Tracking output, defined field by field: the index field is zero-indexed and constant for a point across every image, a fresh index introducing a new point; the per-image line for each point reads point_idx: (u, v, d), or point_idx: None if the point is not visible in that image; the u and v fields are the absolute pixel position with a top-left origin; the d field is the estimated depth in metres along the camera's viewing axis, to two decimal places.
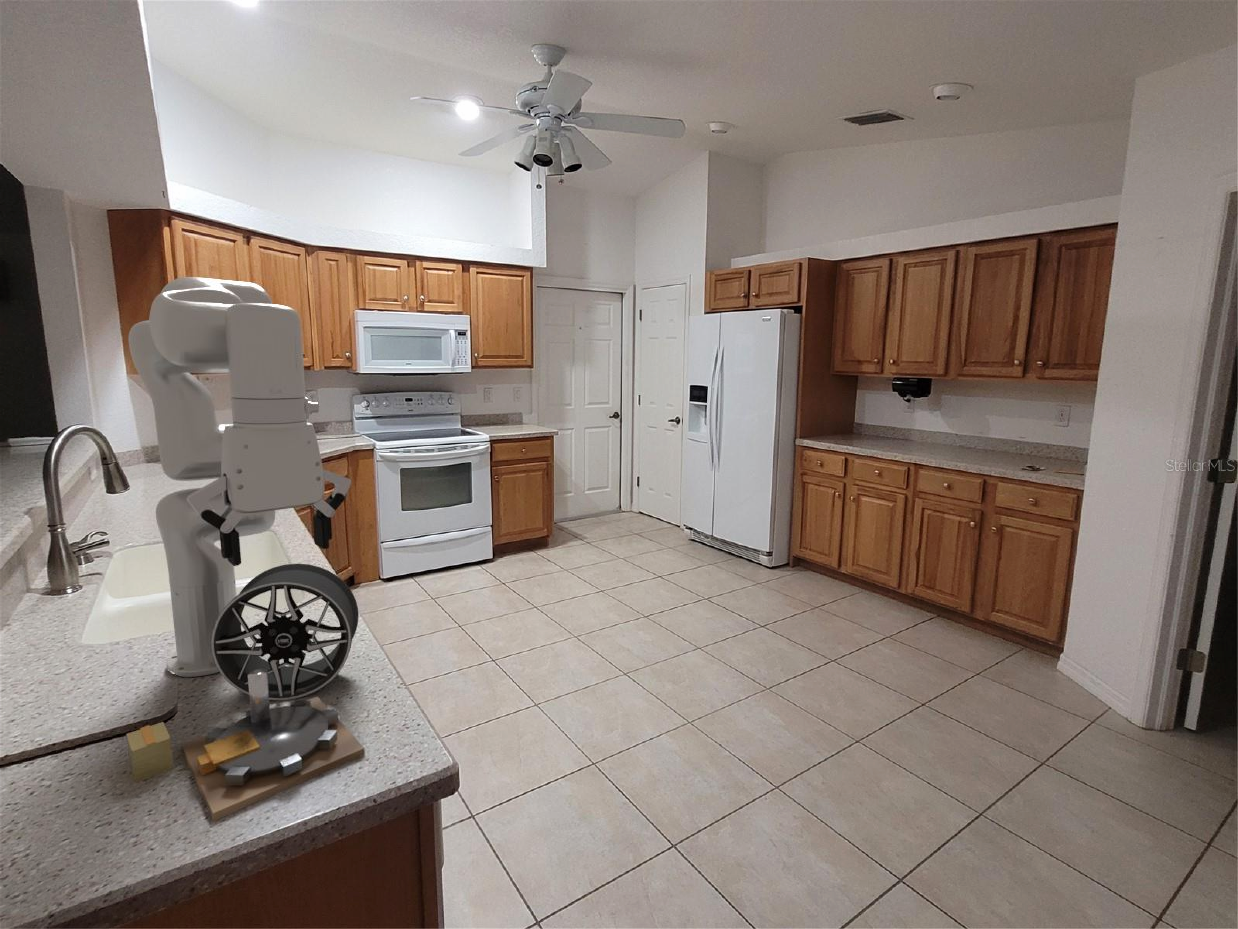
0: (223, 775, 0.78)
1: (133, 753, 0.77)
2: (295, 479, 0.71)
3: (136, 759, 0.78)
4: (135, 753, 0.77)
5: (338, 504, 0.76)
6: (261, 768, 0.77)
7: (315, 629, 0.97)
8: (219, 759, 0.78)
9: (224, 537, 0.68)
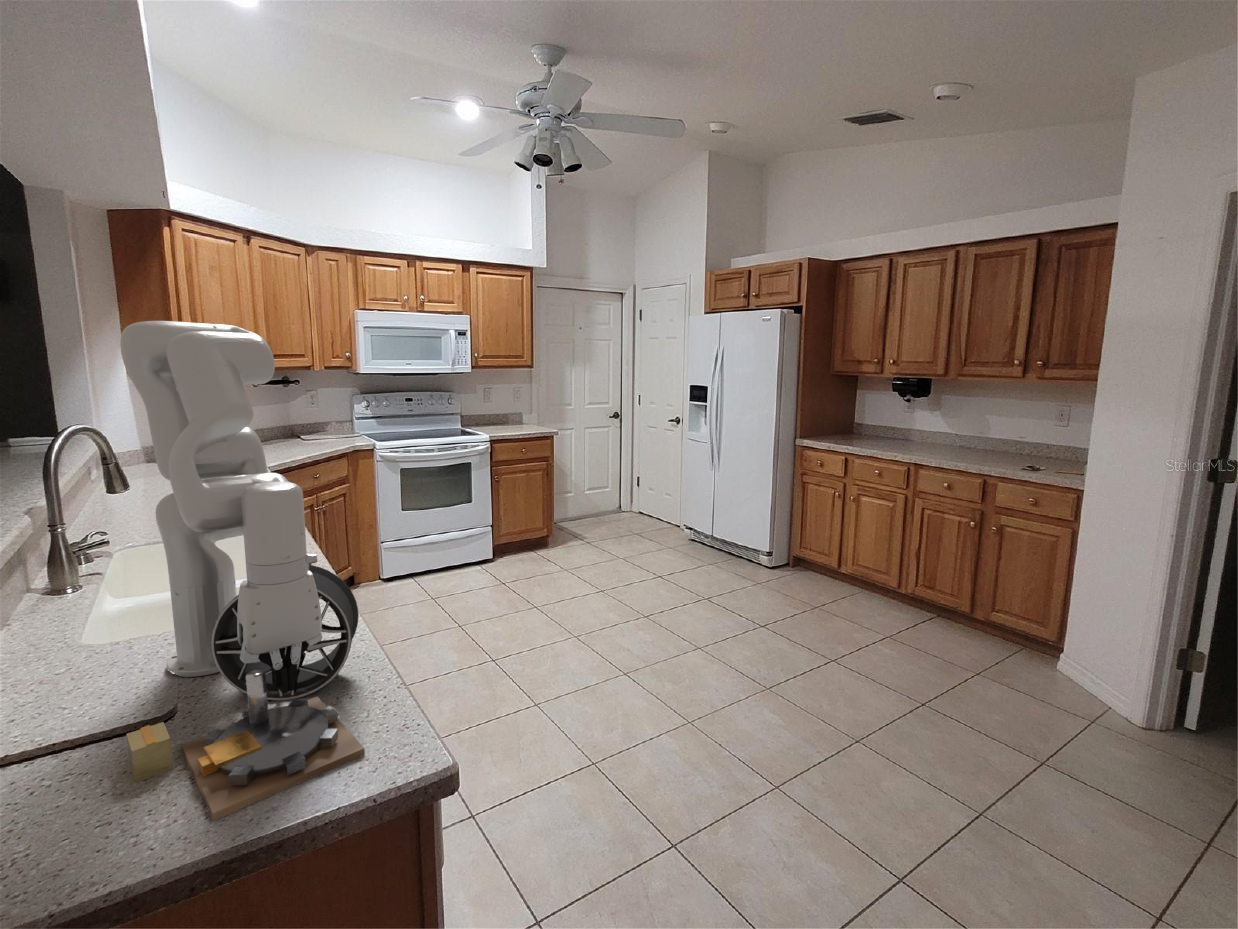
0: (223, 775, 0.78)
1: (133, 753, 0.77)
2: (298, 622, 0.86)
3: (136, 759, 0.78)
4: (135, 753, 0.77)
5: (303, 651, 0.89)
6: (264, 768, 0.78)
7: None
8: (220, 760, 0.78)
9: (275, 672, 0.86)
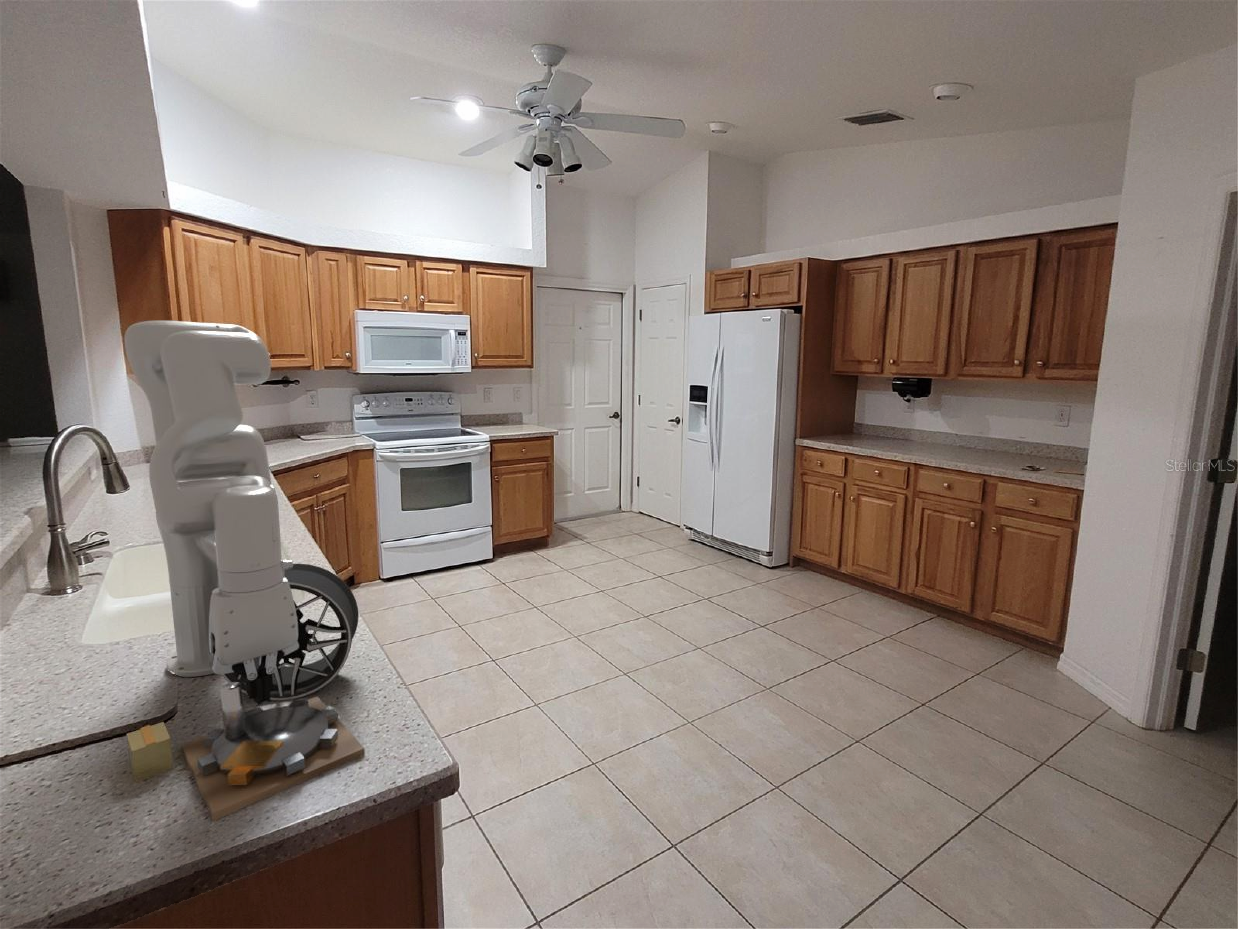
0: (223, 775, 0.78)
1: (133, 753, 0.77)
2: (273, 631, 0.83)
3: (136, 759, 0.78)
4: (135, 753, 0.77)
5: (278, 660, 0.86)
6: (308, 750, 0.81)
7: (315, 629, 0.97)
8: (260, 762, 0.77)
9: (250, 683, 0.84)
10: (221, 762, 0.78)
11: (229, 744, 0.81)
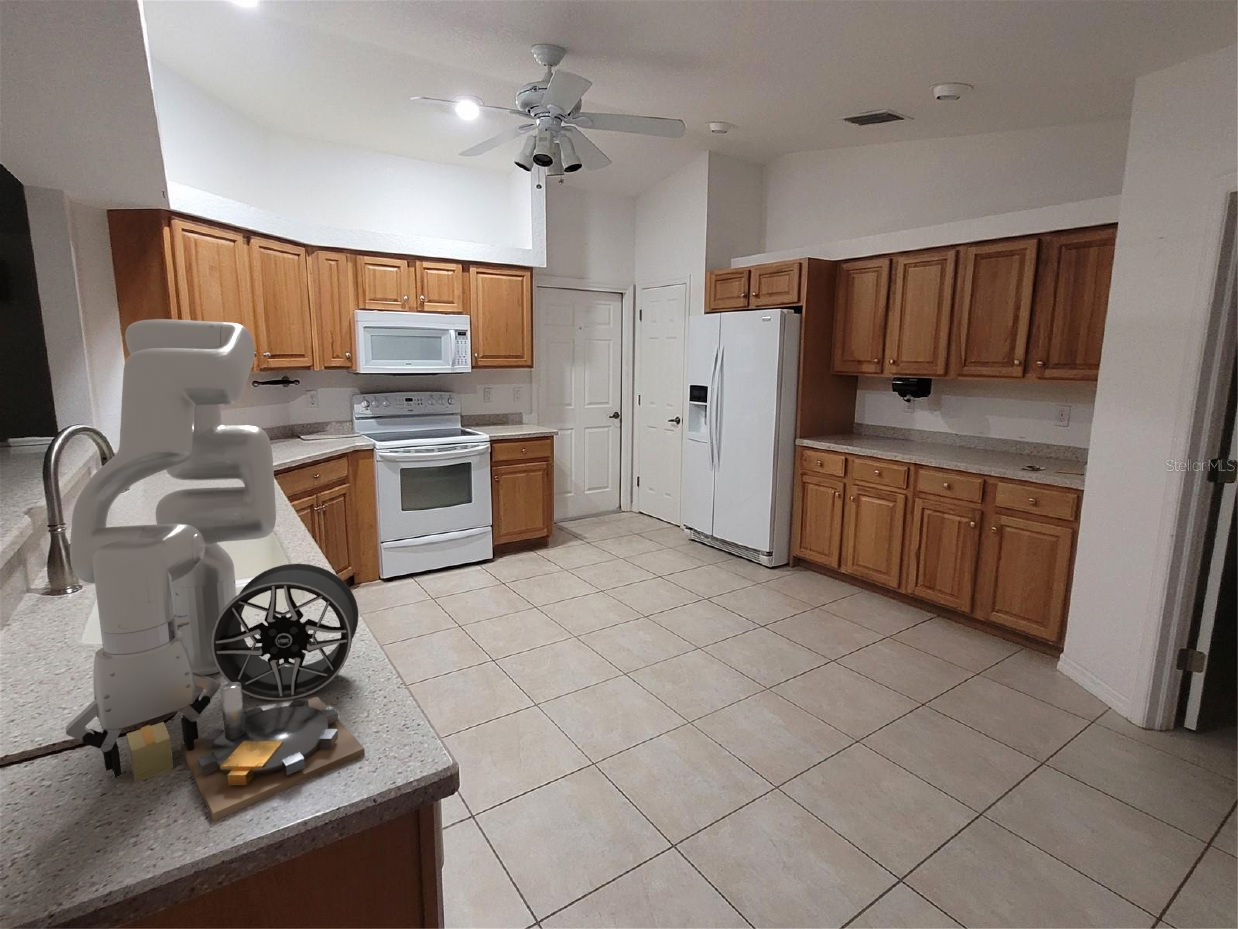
0: (223, 775, 0.78)
1: (133, 753, 0.77)
2: (164, 692, 0.79)
3: (135, 759, 0.78)
4: (135, 753, 0.77)
5: (204, 707, 0.84)
6: (308, 750, 0.81)
7: (315, 629, 0.97)
8: (260, 762, 0.77)
9: (105, 754, 0.76)
10: (221, 762, 0.78)
11: (229, 744, 0.81)
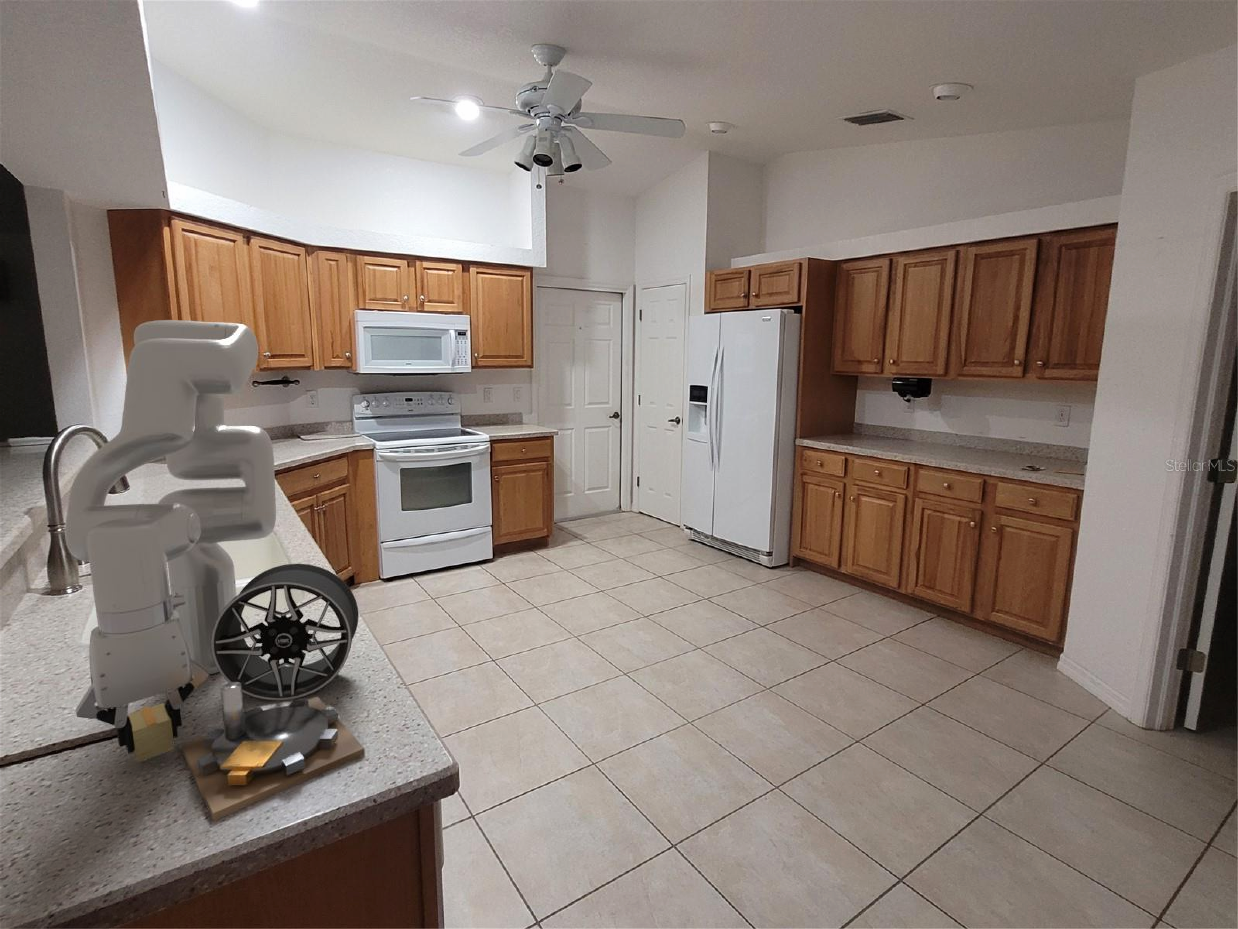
0: (223, 775, 0.78)
1: (134, 733, 0.78)
2: (160, 671, 0.79)
3: (137, 740, 0.78)
4: (136, 733, 0.78)
5: (187, 694, 0.83)
6: (308, 750, 0.81)
7: (315, 629, 0.97)
8: (260, 762, 0.77)
9: (119, 730, 0.78)
10: (221, 762, 0.78)
11: (229, 744, 0.81)
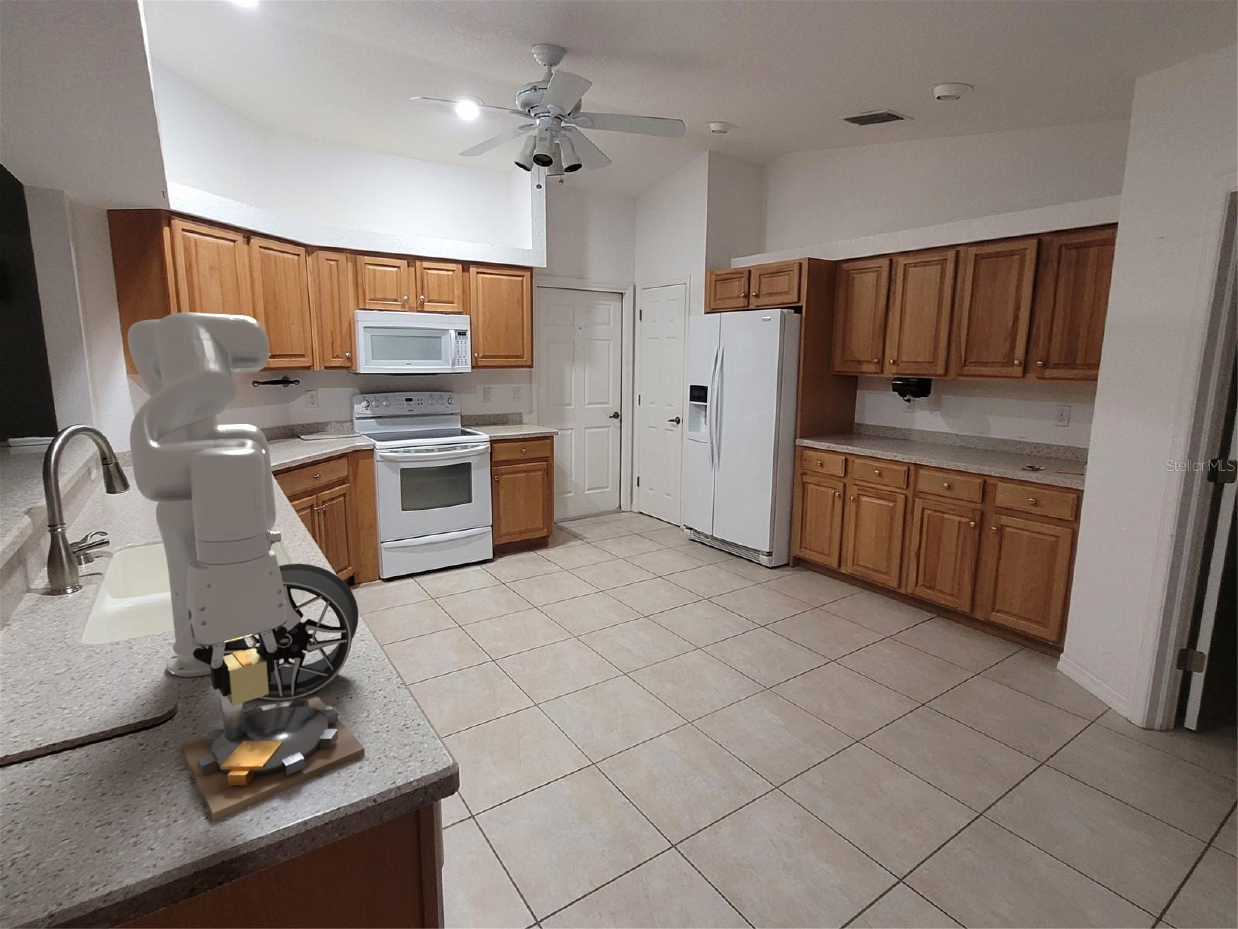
0: (223, 775, 0.78)
1: (231, 674, 0.74)
2: (257, 609, 0.75)
3: (233, 681, 0.74)
4: (233, 674, 0.74)
5: (281, 638, 0.79)
6: (308, 750, 0.81)
7: (315, 629, 0.97)
8: (260, 762, 0.77)
9: (214, 671, 0.74)
10: (221, 762, 0.78)
11: (229, 744, 0.81)
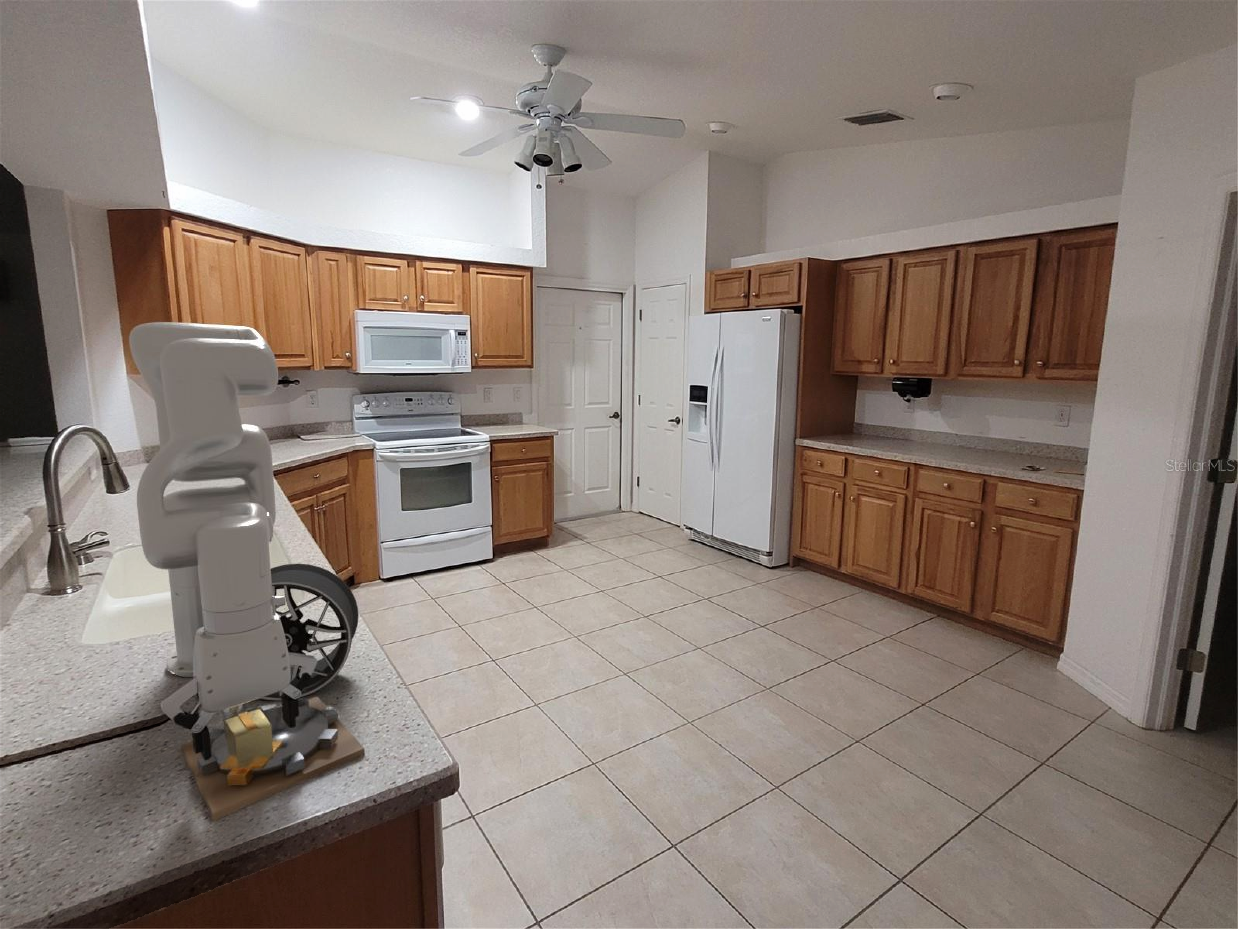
0: (223, 775, 0.78)
1: (236, 739, 0.75)
2: (262, 674, 0.76)
3: (239, 746, 0.75)
4: (238, 739, 0.75)
5: (305, 684, 0.82)
6: (308, 750, 0.81)
7: (315, 629, 0.97)
8: (260, 762, 0.77)
9: (195, 735, 0.73)
10: (221, 762, 0.78)
11: None
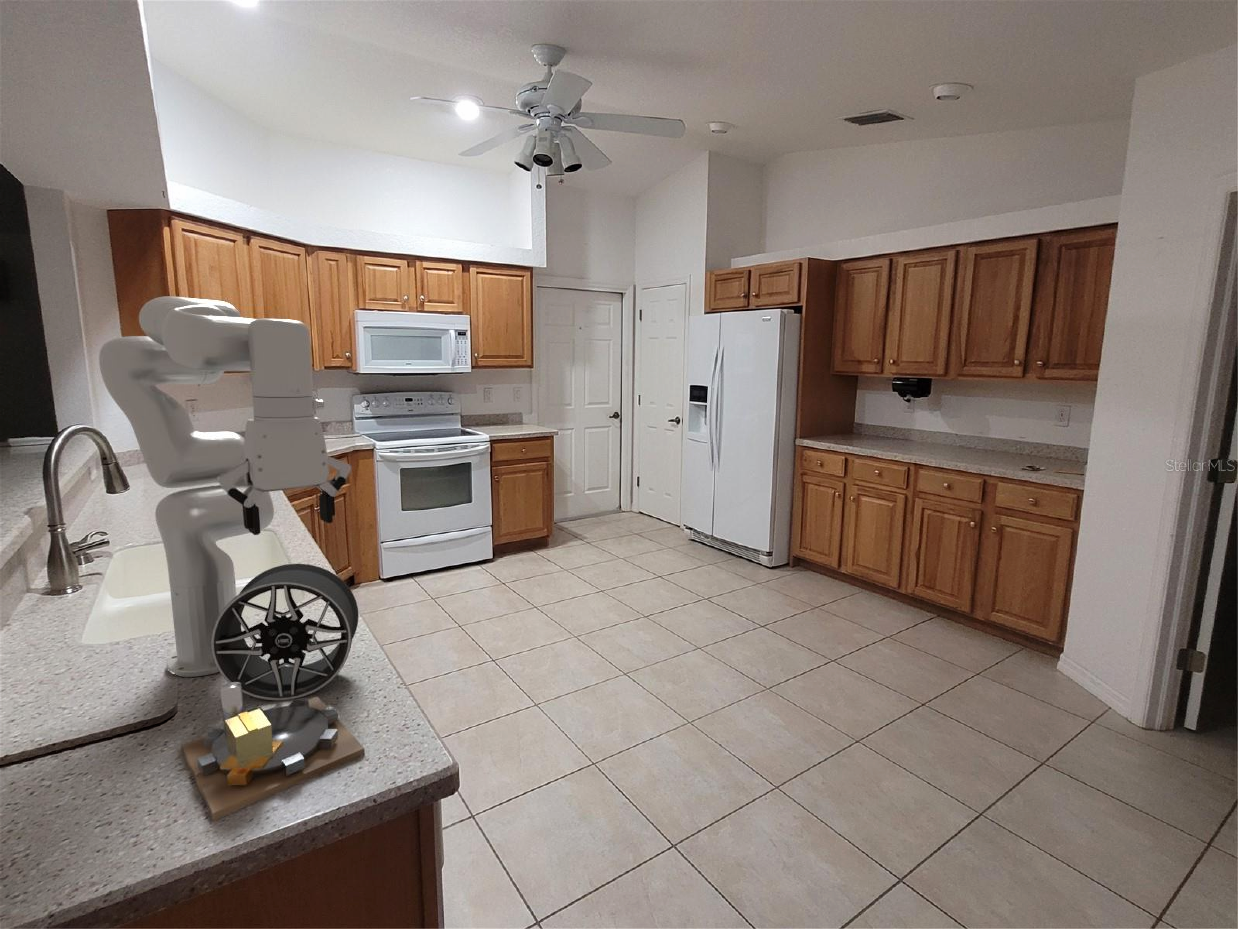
0: (223, 775, 0.78)
1: (236, 739, 0.75)
2: (305, 464, 0.86)
3: (239, 746, 0.75)
4: (238, 739, 0.75)
5: (340, 486, 0.91)
6: (308, 750, 0.81)
7: (315, 629, 0.97)
8: (260, 762, 0.77)
9: (246, 511, 0.82)
10: (221, 762, 0.78)
11: None
